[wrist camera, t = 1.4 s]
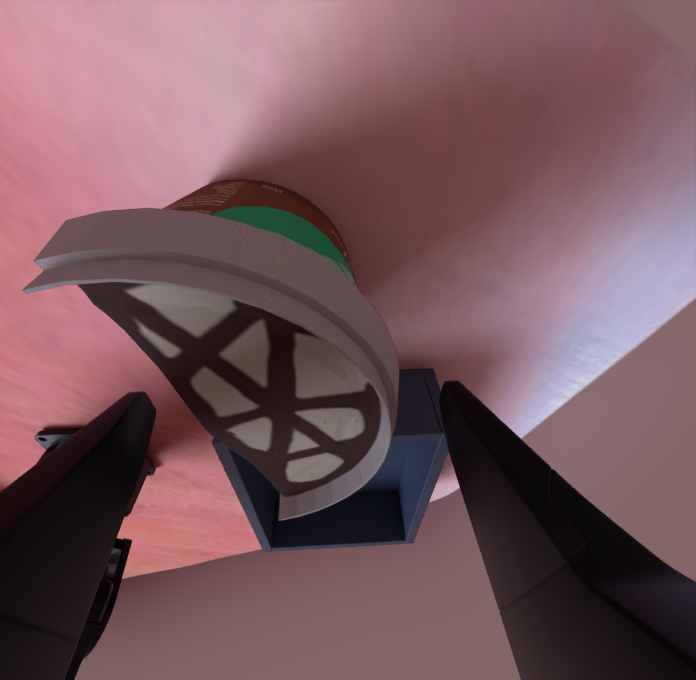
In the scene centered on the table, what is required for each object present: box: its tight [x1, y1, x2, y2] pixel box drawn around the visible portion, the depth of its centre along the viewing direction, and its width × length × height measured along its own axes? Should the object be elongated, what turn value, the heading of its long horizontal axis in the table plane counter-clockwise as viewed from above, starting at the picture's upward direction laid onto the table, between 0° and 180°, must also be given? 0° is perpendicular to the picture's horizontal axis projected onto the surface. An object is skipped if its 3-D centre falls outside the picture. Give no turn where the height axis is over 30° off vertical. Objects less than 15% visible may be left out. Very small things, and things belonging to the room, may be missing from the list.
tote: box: [212, 369, 448, 552], centre depth 26 cm, size 14×18×5 cm
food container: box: [22, 179, 399, 521], centre depth 13 cm, size 12×6×10 cm, turn 16°
